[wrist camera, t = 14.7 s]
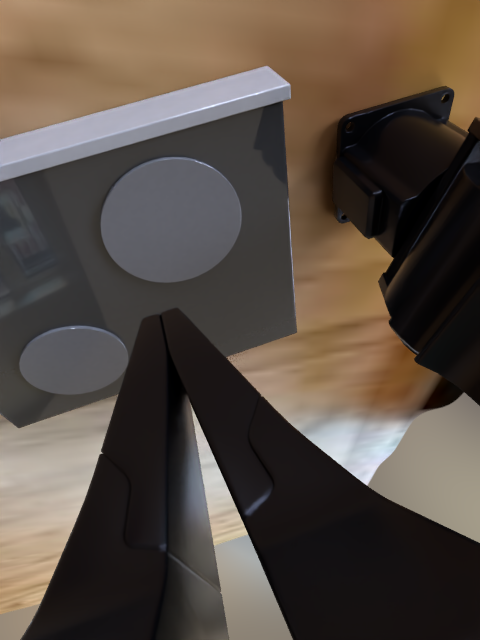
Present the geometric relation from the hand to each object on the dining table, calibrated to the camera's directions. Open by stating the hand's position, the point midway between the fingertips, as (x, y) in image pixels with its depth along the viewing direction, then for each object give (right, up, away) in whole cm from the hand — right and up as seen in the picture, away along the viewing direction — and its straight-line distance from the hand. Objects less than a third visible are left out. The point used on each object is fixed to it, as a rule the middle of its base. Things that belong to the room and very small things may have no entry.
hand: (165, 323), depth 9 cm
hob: (-6, +3, +14) cm, 16 cm away
